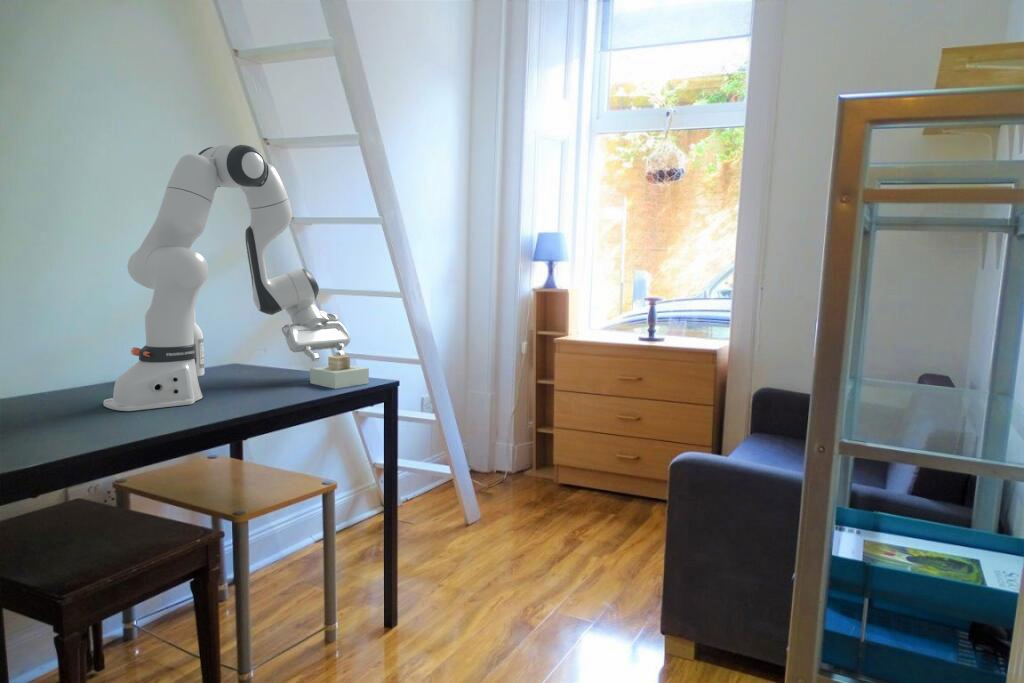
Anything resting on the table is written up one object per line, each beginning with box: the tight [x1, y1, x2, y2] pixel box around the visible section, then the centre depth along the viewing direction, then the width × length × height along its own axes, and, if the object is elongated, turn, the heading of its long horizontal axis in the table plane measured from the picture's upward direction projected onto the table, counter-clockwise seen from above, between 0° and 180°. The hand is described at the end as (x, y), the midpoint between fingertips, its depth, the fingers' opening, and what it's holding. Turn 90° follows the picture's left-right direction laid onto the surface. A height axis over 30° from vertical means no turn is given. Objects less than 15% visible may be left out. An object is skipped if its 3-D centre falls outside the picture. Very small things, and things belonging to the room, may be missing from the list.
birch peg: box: [327, 355, 351, 371], centre depth 208 cm, size 4×4×8 cm
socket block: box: [309, 364, 370, 390], centre depth 208 cm, size 12×12×4 cm
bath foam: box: [193, 310, 205, 378], centre depth 215 cm, size 7×7×20 cm
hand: (329, 358), depth 211 cm, fingers open, 8 cm apart
